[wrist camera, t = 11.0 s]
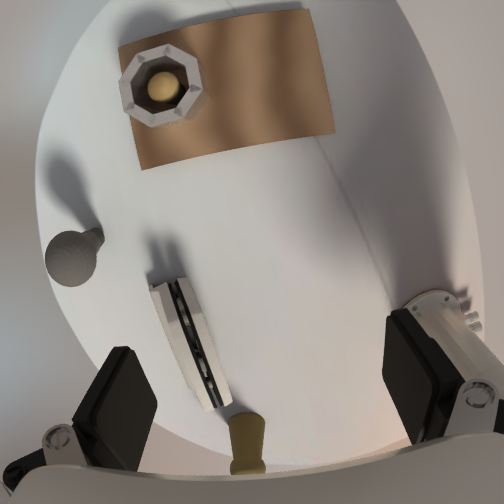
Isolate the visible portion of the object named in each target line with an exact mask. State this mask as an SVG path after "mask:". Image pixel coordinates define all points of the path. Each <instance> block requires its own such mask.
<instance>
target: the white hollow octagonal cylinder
mask: <svg viewBox="0 0 504 504" xmlns="http://www.w3.org/2000/svg"><path fill="white" fill-rule="evenodd" d="M177 69H181V70H183V71H184V72H186V73H187V77H188V82H189V87H190V88H189V89H188V91H187V92H186V94H185V95H184V97H183V98H182V100H181V101H180V103H179V104H178V106H177V107H176V108H174V109H171V110H167V111H163V112H159V111H157V110H155V109H154V108H153V104H152V99H151V97H150V95H149V93H148V83H149V81H150V80H151V78H152V77H153V76H154V75H156V74H158V73H161V72H170V71H174V70H177ZM119 88H120V93H121V99H122V104H123V109H124V112H125V113H127V114H129V115H130V116H132V117H134V118H136V119H137V120H139V121H141V122H142V123H144V124H146V125H147V126H149V127H157V128H169V127H173V126H177V125H181V124H185V123H189V122H193V121H195V119H196V118H197V116H198V115H199V113H200V112H201V110H202V109H203V108H204V106H205V105H206V103H207V102H208V100H209V99H210V94H209V89H208V84H207V79H206V74H205V71H204V69H203V68H202V66H201V65H200V63H199V62H198V60H197V58H195V57H193V56H191V55H189V54H187V53H186V52H184V51H182V50H180V49H178V48H176V47H174V46H172V45H170V44H166V45H163V46H159V47H156V48H153V49H150V50H146V51H143V52H140V53H137V54H136V55H135V57H134V58H133V60H132V61H131V63H130V64H129V66H128V67H127V69H126V70H125V72H124V74H123V75H122V77H121V78H120V80H119Z"/></svg>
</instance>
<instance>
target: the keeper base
mask: <svg viewBox="0 0 504 504" xmlns="http://www.w3.org/2000/svg"><path fill="white" fill-rule="evenodd" d="M166 44H170V45H172V46H174V47H176V48H178V49H180V50H182V51H184V52H186V53H187V54H189V55H191V56H193V57H195V58H197V60H198V62H199V63H200V65H201V66H202V68H203V69H204V71H205V74H206V79H207V84H208V89H209V94H210V99H209V100H208V102H207V103H206V105H205V106H204V108H203V109H202V110H201V112H200V113H199V115H198V116H197V118H196V119H195V121H193V122H189V123H185V124H181V125H177V126H173V127H169V128H157V127H149V126H147V125H146V124H144V123H142V122H141V121H139V120H137V119H136V118H134V117H132V116H130V120H131V125H132V130H133V134H134V139H135V144H136V148H137V153H138V157H139V161H140V166H141V170H146V169H150V168H153V167H157V166H161V165H165V164H169V163H173V162H177V161H181V160H185V159H190V158H194V157H198V156H203V155H207V154H212V153H217V152H221V151H226V150H231V149H236V148H242V147H247V146H252V145H258V144H263V143H269V142H275V141H281V140H288V139H294V138H301V137H308V136H316V135H324V134H332V133H335V129H334V123H333V117H332V112H331V106H330V101H329V95H328V90H327V85H326V80H325V75H324V70H323V65H322V61H321V56H320V52H319V48H318V43H317V39H316V35H315V31H314V27H313V23H312V19H311V15H310V11H309V9H297V10H284V11H274V12H265V13H257V14H249V15H243V16H237V17H231V18H225V19H220V20H215V21H210V22H205V23H201V24H196V25H192V26H188V27H184V28H180V29H176V30H172V31H169V32H165V33H162V34H158V35H155V36H152V37H149V38H145V39H142V40H139V41H136V42H133V43H131V44H128V45H125V46H122V47H119V48H118V51H119V57H120V64H121V70H122V75H123V74H124V72H125V70H126V69H127V67H128V66H129V64H130V63H131V61H132V60H133V58H134V57H135V55H136V54H137V53H140V52H143V51H146V50H150V49H153V48H156V47H159V46H163V45H166ZM189 88H190V87H189V82H188V77H187V73H186V72H184V71H183V70H181V69H177V70H174V71H170V72H161V73H158V74H156V75H154V76H153V77H152V78H151V80H150V81H149V83H148V93H149V95H150V97H151V99H152V104H153V108H154V109H155V110H157V111H159V112H163V111H167V110H171V109H174V108H176V107H177V106H178V104H179V103H180V101H181V100H182V98H183V97H184V95H185V94H186V92H187V91H188V89H189Z"/></svg>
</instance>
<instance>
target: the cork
mask: <svg viewBox="0 0 504 504" xmlns="http://www.w3.org/2000/svg"><path fill="white" fill-rule="evenodd" d="M228 425H229V432H230V439H231V445H232V452H233V458H234V460H233V461H232V462H231V465H230V473H231V475H248V474H263V473H265V471H266V466H265V463H264V461H263V460H262V459H261V458H262V448H263V439H264V429H265V420H264V419H263V418H262V417H261V416H260V415H257V414H254V413H239V414H237V415H234V416H233V417H231V418H230V420H229V423H228Z"/></svg>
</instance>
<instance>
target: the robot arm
mask: <svg viewBox="0 0 504 504" xmlns="http://www.w3.org/2000/svg"><path fill="white" fill-rule="evenodd" d="M478 318H479V315H478V313H477V312H476V311H475V312H472V313H470V314H468V315H465V314H463V313H462V312H461V308H460V305H459V302H458V300H457V299H456V298H455V297H454V296H453V295H452V294H451V293H449V292H447V291H445V290H431V291H428V292H425V293H423V294H420V295H418V296H417V297H415V298H414V299H412V300H411V301H410V302H409V303H407V304H406V305H405V306H404V307H403V308H402V309H398V310H394V311H392V312H391V314H390V316H387V318H386V332H385V346H384V357H383V368H382V376H383V380H384V382H385V384H386V387H387V389H388V391H389V393H390V395H391V398H392V400H393V402H394V404H395V407H396V409H397V411H398V413H399V416H400V418H401V420H402V423H403V425H404V427H405V430H406V432H407V434H408V437H409V439H410V441H411V444H412V445H411V446H408V447H405V448H401V449H397V450H394V451H390V452H387V453H382V454H378V455H374V456H370V457H366V458H361V459H357V460H352V461H348V462H343V463H338V464H332V465H327V466H321V467H314V468H308V469H301V470H293V471H284V472H274V473H263V474H248V475H223V476H195V475H193V476H192V475H169V474H155V473H154V474H153V473H143V472H137V470H138V467H139V463H140V460H141V457H142V454H143V450H144V447H145V444H146V441H147V438H148V434H149V431H150V428H151V424H152V422H153V419H154V416H155V412H156V409H157V399H156V397H155V395H154V393H153V391H152V388H151V386H150V384H149V382H148V380H147V378H146V376H145V374H144V371H143V369H142V367H141V365H140V362H139V360H138V358H137V356H136V353H135V351H134V350H131V349H130V348H129V347H128V346H120V347H114V348H113V349H112V350H111V352H110V354H109V355H108V357H107V359H106V360H105V362H104V364H103V365H102V367H101V369H100V370H99V372H98V374H97V376H96V377H95V379H94V381H93V382H92V384H91V386H90V388H89V389H88V391H87V393H86V395H85V396H84V398H83V400H82V402H81V403H80V405H79V407H78V409H77V411H76V412H75V414H74V416H73V418H72V421H73V422H74V423H73V425H72V427H71V426H70V425H67V424H58V425H55V426H53V427H51V428H50V429H49V430H47V431H46V433H45V434H44V436H43V439H42V447H43V448H41V449H39V450H37V451H35V452H33V453H31V454H29V455H27V456H24V457H22V458H20V459H18V460H16V461H14V462H12V463H10V464H9V465H8V466H7V467H6V469H5V471H4V473H3V482H1V481H0V504H504V365H503V364H502V363H501V362H500V361H499V360H498V359H497V357H496V356H495V355H494V354H493V353H492V352H491V351H490V349H489V348H488V347H487V346H486V345H485V344H484V343H483V342H482V341H481V339H480V338H479V337H478V336H477V335H476V334H479V333H480V332H481V331H482V325H481V323H480V322H479V321H477V322H474V323H472V324H469V325H468V323H470V322H473V321H476V320H478Z"/></svg>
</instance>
